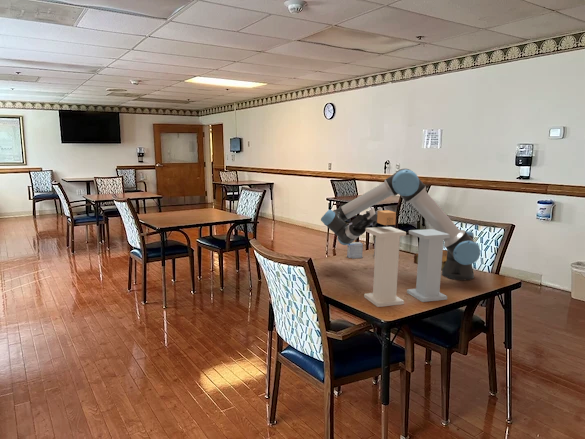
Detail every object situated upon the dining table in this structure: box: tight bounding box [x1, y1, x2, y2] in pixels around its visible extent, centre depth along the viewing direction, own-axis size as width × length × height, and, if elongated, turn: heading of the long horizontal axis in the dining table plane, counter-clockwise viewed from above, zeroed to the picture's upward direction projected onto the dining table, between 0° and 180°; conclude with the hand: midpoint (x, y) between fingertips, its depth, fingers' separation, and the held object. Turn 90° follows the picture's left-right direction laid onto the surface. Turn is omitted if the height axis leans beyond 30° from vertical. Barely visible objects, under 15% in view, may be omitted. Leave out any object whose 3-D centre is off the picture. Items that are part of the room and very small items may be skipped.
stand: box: [363, 226, 407, 308], centre depth 179 cm, size 12×14×30 cm
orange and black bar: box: [365, 209, 397, 226], centre depth 182 cm, size 5×18×5 cm, turn 17°
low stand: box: [406, 228, 450, 303], centre depth 186 cm, size 12×14×28 cm
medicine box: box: [346, 241, 364, 259], centre depth 250 cm, size 8×4×9 cm, turn 104°
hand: (377, 210), depth 183 cm, fingers closed on orange and black bar, 3 cm apart
